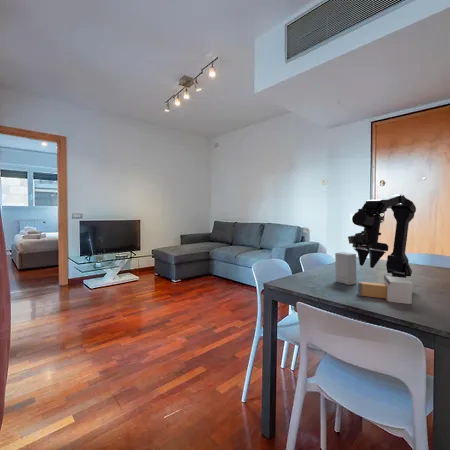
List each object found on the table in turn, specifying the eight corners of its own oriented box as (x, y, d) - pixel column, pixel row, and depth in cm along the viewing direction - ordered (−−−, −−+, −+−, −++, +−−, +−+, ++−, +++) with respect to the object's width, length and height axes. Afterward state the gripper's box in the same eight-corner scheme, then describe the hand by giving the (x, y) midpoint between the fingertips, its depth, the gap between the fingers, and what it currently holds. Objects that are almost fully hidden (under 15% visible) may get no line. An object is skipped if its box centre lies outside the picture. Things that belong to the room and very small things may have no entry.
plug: (357, 292, 118) (358, 280, 117) (401, 297, 112) (401, 284, 111) (358, 295, 114) (358, 283, 113) (403, 300, 108) (404, 287, 107)
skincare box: (356, 284, 132) (357, 253, 132) (347, 285, 130) (348, 254, 129) (342, 279, 140) (343, 251, 139) (334, 281, 137) (335, 252, 137)
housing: (383, 294, 117) (384, 275, 116) (405, 296, 114) (405, 277, 113) (387, 301, 107) (388, 281, 107) (411, 304, 104) (412, 283, 104)
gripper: (343, 227, 122) (338, 261, 122) (362, 225, 104) (356, 265, 103) (368, 231, 122) (363, 265, 121) (391, 229, 103) (386, 270, 102)
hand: (366, 266), depth 112 cm, fingers open, 9 cm apart
